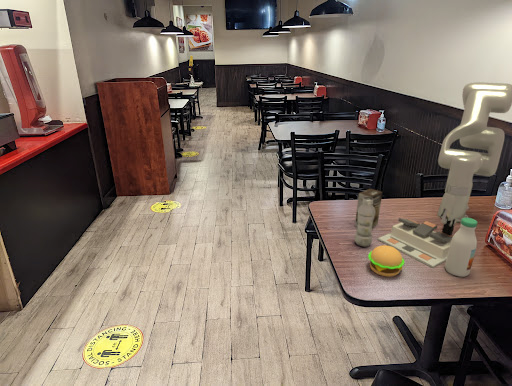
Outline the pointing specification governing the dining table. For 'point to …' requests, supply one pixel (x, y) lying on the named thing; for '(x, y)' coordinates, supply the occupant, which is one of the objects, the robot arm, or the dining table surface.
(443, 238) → the switch
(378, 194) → the coffee box
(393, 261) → the hamburger
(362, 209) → the plastic bottle
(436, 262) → the switch board
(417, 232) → the switch middle
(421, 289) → the dining table surface
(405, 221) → the switch
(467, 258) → the milk bottle
